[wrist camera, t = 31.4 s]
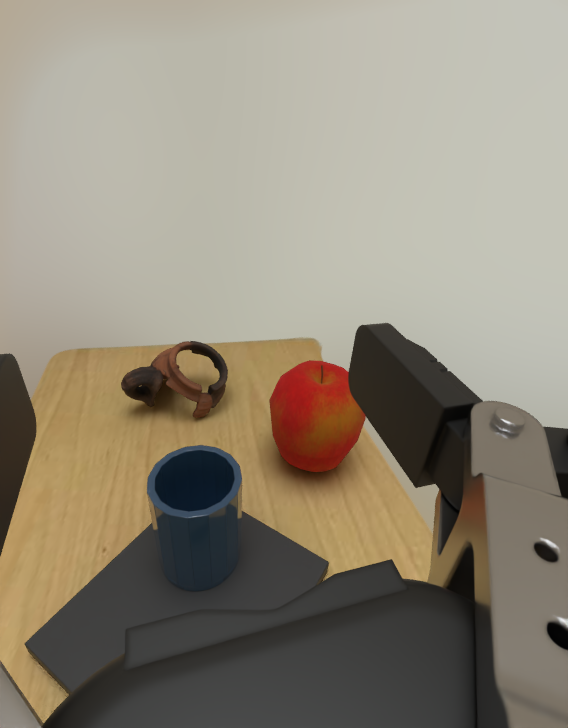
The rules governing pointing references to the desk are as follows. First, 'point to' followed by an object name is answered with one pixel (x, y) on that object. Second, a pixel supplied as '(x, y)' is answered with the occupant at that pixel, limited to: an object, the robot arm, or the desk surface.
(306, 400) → the apple
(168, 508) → the cup
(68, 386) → the desk surface
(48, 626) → the scale
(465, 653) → the robot arm
